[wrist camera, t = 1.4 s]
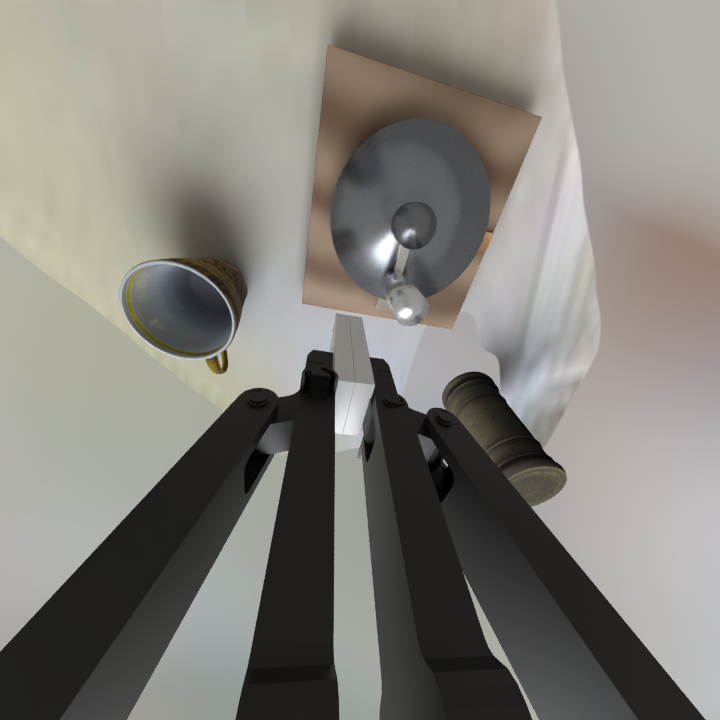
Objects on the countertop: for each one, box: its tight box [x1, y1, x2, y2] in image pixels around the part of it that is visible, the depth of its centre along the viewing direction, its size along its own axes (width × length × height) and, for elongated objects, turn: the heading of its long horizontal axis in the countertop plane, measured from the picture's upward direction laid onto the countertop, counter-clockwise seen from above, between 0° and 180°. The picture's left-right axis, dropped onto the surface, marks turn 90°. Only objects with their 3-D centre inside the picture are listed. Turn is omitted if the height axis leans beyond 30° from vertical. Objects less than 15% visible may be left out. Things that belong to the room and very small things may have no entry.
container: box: [442, 372, 567, 507], centre depth 38 cm, size 9×9×18 cm
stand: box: [302, 45, 542, 329], centre depth 30 cm, size 22×20×3 cm
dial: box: [330, 119, 490, 326], centre depth 24 cm, size 16×16×10 cm
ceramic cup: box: [119, 258, 247, 374], centre depth 30 cm, size 13×10×10 cm
